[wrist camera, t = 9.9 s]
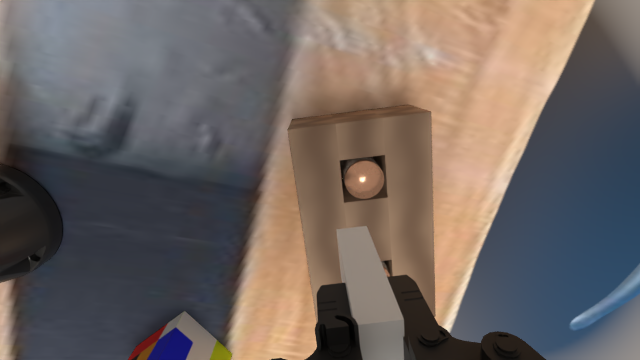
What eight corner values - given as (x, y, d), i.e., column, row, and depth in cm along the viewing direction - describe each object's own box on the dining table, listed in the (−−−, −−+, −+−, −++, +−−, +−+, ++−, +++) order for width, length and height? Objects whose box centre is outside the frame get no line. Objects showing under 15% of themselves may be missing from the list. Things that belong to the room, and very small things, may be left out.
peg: (341, 179, 42) (346, 200, 35) (337, 148, 41) (342, 163, 33) (372, 175, 42) (385, 196, 35) (370, 144, 40) (382, 158, 33)
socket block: (317, 288, 47) (317, 329, 40) (292, 119, 40) (287, 129, 33) (415, 277, 47) (435, 316, 40) (408, 104, 40) (431, 111, 32)
